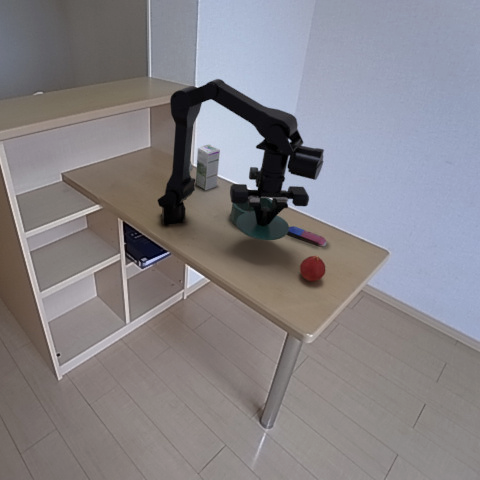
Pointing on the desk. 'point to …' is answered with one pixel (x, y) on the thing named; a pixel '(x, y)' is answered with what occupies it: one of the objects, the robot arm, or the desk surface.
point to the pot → (246, 208)
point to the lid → (262, 225)
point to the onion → (312, 268)
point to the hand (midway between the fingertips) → (262, 223)
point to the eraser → (306, 236)
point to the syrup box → (207, 167)
